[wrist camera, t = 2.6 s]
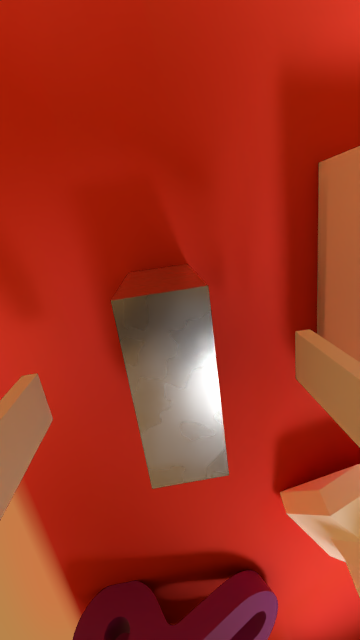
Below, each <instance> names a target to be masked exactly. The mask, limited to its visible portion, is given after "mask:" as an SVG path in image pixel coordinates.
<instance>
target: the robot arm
mask: <svg viewBox="0 0 360 640" xmlns="http://www.w3.org/2000/svg"><path fill="white" fill-rule="evenodd" d="M295 368H296V379H297V380H298V382H299V383H300V384H301V385H302V386H303V387H304V388H305V389H306V390H307V391H308V392H309V393H310V395H311V396H312V397H313V398H314V399H315V400H316V401H317V402H318V403H319V404H320V405H321V406H322V407H323V409H324V410H325V411H326V412H327V413H328V414H329V415H330V416H331V417H332V418H333V419H334V420H335V422H336V423H337V424H338V425H339V426H340V427H341V428H342V429H343V430H344V431H345V432H346V433H347V435H348V436H349V437H350V438H351V439H352V440H353V441H354V442H355V443H356V444H357V445H358V446H359V447H360V362H358V361H357V360H355V359H354V358H352V357H351V356H349V355H348V354H346V353H345V352H343V351H342V350H340V349H339V348H337V347H336V346H334V345H333V344H331V343H330V342H328V341H327V340H325V339H324V338H322V337H321V336H319V335H318V334H316V333H315V332H313V331H312V330H310V329H307V330H301V331H295ZM52 420H53V417H52V414H51V411H50V408H49V406H48V403H47V400H46V397H45V394H44V391H43V388H42V385H41V382H40V379H39V376H38V373H36V374H30V375H24V376H21V378H20V379H19V380H18V381H17V382H16V383H15V384H14V385H13V387H12V388H11V389H10V390H9V391H8V392H7V393H6V395H5V396H4V397H3V398H2V399H1V400H0V520H1V518H2V516H3V514H4V512H5V510H6V508H7V507H8V505H9V502H10V501H11V499H12V497H13V495H14V493H15V491H16V489H17V487H18V485H19V484H20V482H21V480H22V478H23V476H24V474H25V472H26V470H27V468H28V466H29V464H30V463H31V461H32V459H33V457H34V455H35V453H36V451H37V449H38V447H39V445H40V443H41V441H42V440H43V438H44V436H45V434H46V432H47V430H48V428H49V426H50V424H51V422H52Z"/></svg>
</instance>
